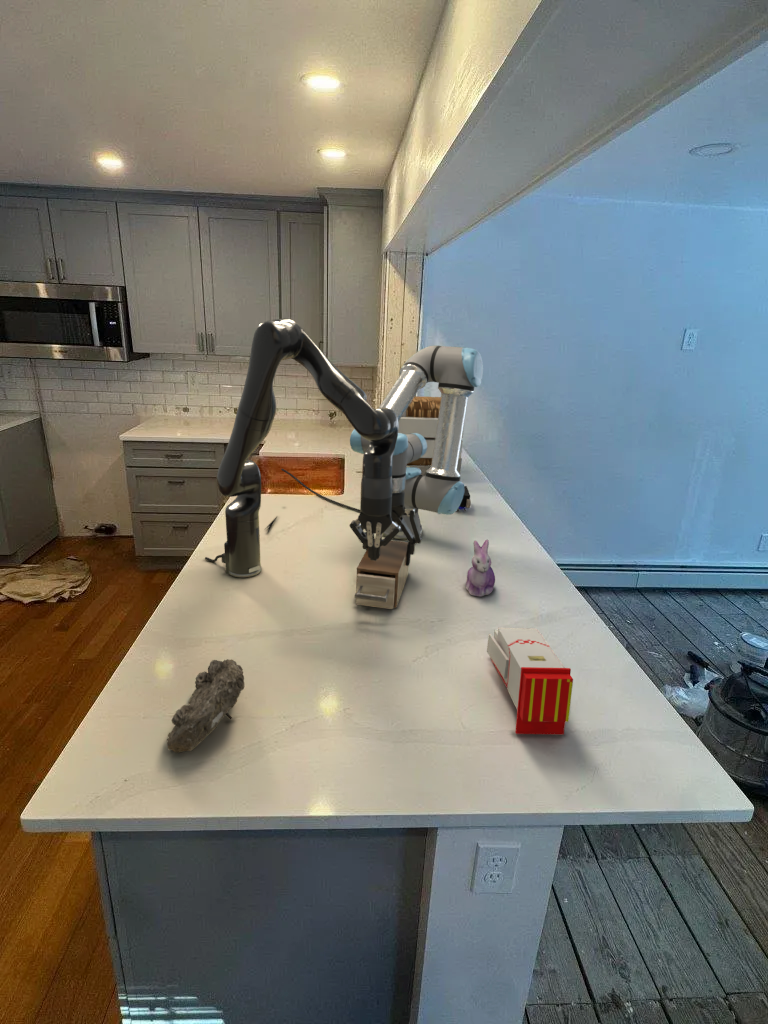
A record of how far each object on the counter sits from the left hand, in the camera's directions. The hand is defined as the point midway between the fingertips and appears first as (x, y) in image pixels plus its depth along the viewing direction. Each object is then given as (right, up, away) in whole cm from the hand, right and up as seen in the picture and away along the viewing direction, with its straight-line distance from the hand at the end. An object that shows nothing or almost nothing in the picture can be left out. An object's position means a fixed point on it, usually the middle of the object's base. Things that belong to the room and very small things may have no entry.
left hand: (374, 559), depth 141 cm
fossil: (-30, -27, -33) cm, 52 cm away
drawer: (+1, -11, +14) cm, 18 cm away
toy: (+31, -26, -21) cm, 46 cm away
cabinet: (+2, -10, +20) cm, 23 cm away
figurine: (+30, -11, +21) cm, 38 cm away
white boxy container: (+20, +31, +134) cm, 139 cm away
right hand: (+4, -3, +23) cm, 24 cm away
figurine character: (+33, +13, +88) cm, 96 cm away
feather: (-37, +9, +67) cm, 77 cm away
